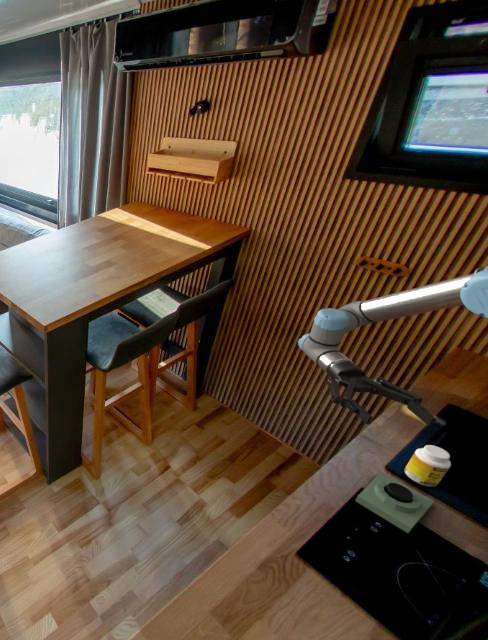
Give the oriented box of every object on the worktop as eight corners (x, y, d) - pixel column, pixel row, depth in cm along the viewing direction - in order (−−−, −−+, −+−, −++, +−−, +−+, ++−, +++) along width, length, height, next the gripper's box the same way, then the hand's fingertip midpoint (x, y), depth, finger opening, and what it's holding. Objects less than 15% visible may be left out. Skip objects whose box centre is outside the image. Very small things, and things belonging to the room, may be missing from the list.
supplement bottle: (422, 489, 91) (439, 463, 87) (396, 469, 96) (412, 443, 92) (445, 486, 91) (463, 459, 86) (418, 466, 96) (434, 440, 91)
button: (389, 484, 90) (392, 479, 89) (413, 497, 87) (416, 493, 86) (381, 492, 89) (384, 488, 88) (405, 506, 85) (408, 501, 85)
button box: (377, 477, 95) (383, 467, 93) (430, 506, 87) (437, 496, 86) (355, 501, 91) (360, 491, 89) (408, 533, 84) (415, 523, 82)
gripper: (385, 378, 115) (453, 433, 96) (292, 377, 121) (340, 429, 102) (394, 360, 111) (466, 413, 93) (298, 360, 117) (348, 410, 99)
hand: (400, 421), depth 98 cm, fingers open, 13 cm apart
